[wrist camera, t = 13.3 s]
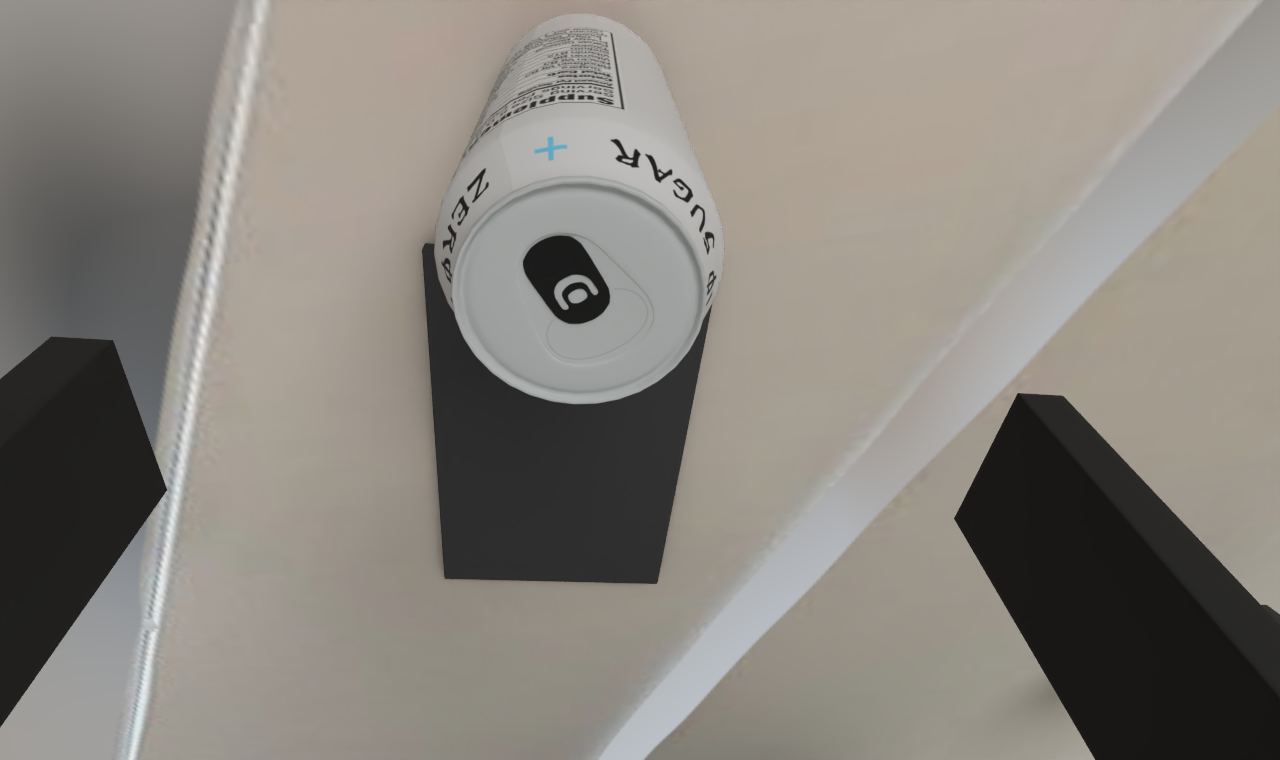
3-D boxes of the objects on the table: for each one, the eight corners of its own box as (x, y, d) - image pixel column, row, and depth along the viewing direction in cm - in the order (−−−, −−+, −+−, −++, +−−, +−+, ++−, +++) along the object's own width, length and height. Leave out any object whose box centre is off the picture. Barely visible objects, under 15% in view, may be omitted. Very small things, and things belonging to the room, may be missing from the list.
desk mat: (656, 575, 41) (657, 584, 41) (446, 570, 40) (444, 579, 39) (716, 265, 30) (718, 271, 29) (424, 242, 28) (421, 248, 28)
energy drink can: (556, 209, 28) (532, 466, 16) (465, 65, 25) (346, 247, 12) (693, 134, 26) (784, 352, 14) (616, -28, 23) (649, 73, 11)
